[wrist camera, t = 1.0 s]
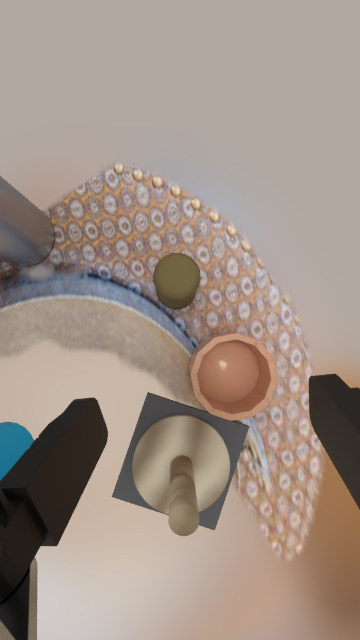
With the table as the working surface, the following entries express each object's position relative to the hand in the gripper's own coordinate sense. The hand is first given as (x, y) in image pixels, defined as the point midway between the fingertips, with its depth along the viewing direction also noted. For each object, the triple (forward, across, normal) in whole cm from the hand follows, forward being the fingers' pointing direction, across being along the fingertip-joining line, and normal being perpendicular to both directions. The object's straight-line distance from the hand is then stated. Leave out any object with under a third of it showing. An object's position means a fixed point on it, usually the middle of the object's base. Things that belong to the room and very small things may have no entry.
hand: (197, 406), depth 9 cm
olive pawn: (+27, +4, 0) cm, 28 cm away
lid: (+18, +7, +24) cm, 31 cm away
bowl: (+24, -2, +13) cm, 27 cm away
